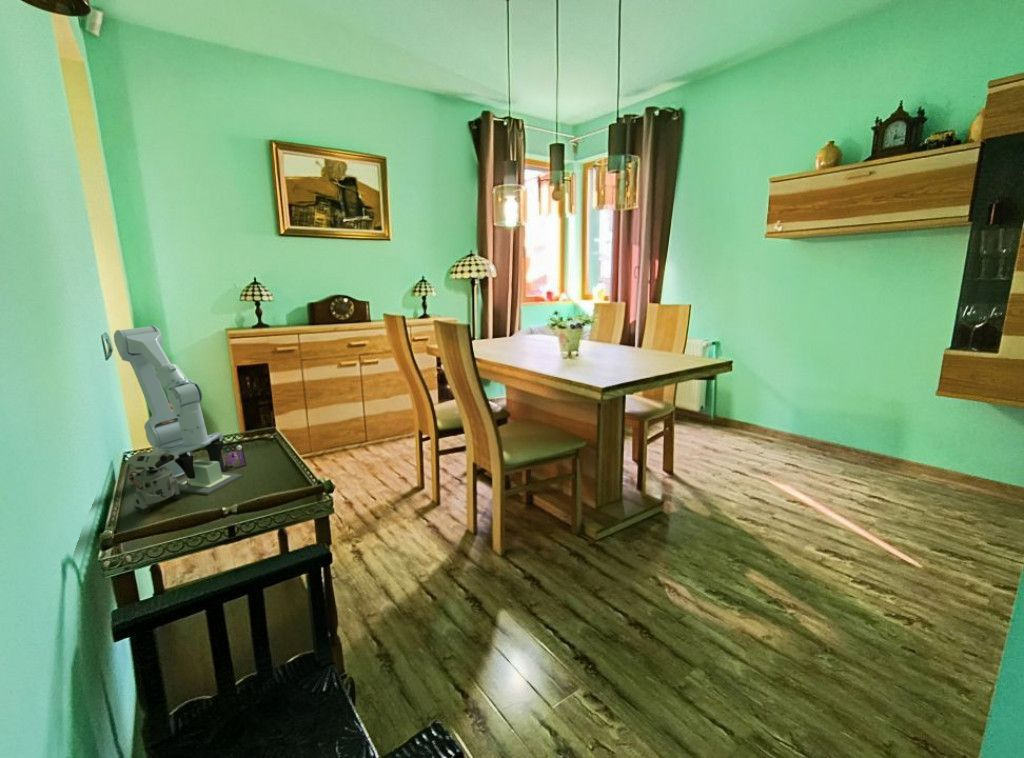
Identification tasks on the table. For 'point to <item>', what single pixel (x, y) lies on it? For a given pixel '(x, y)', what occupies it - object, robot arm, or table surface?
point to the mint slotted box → (206, 471)
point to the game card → (232, 457)
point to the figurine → (153, 478)
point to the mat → (209, 488)
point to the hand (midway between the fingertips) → (204, 471)
